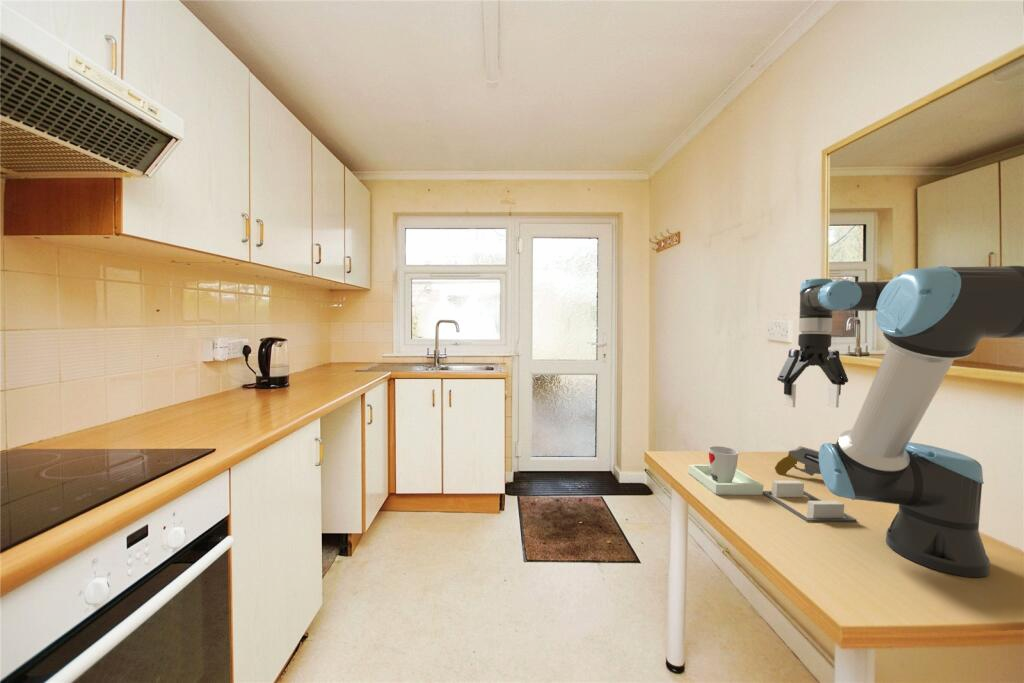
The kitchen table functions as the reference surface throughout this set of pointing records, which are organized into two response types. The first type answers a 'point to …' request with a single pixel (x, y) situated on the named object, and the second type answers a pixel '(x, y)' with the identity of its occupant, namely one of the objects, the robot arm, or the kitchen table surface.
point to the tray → (739, 484)
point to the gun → (802, 456)
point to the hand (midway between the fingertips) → (811, 406)
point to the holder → (809, 503)
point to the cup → (722, 463)
